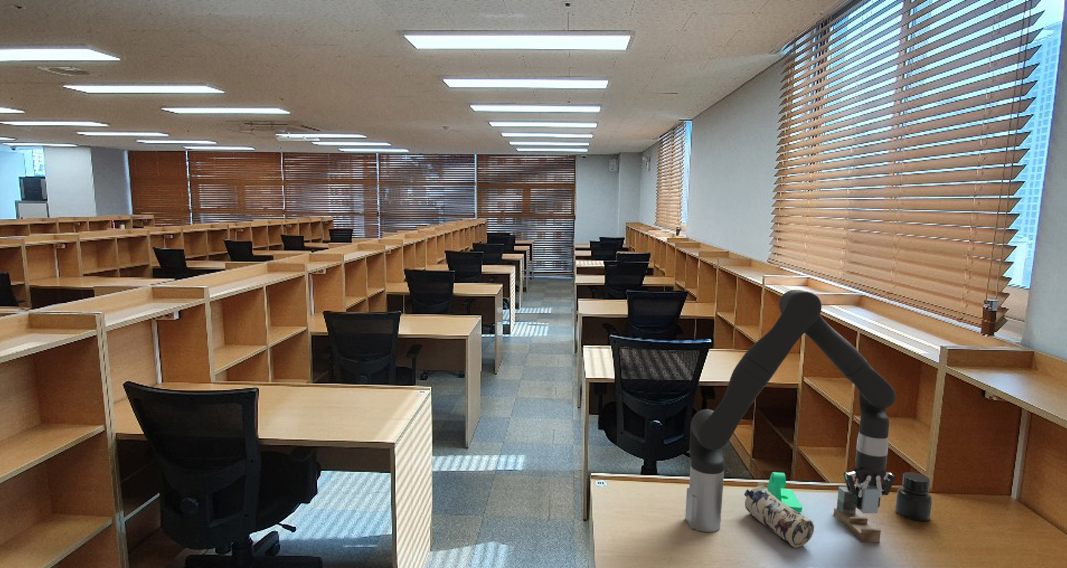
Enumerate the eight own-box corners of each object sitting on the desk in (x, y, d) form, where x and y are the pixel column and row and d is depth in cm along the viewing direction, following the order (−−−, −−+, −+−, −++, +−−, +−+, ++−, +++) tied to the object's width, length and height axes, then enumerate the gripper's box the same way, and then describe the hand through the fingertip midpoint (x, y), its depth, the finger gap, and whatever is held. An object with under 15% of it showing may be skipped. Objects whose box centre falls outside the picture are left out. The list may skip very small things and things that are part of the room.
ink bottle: (938, 520, 179) (942, 482, 177) (916, 524, 176) (920, 486, 174) (908, 504, 188) (912, 468, 186) (887, 508, 185) (891, 471, 184)
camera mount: (802, 516, 180) (805, 483, 178) (775, 513, 181) (778, 481, 179) (791, 497, 191) (793, 466, 190) (766, 495, 192) (768, 464, 191)
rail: (861, 541, 166) (864, 511, 165) (833, 514, 181) (836, 485, 180) (879, 542, 166) (882, 511, 165) (849, 514, 181) (852, 486, 180)
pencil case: (740, 513, 180) (742, 482, 179) (764, 510, 183) (767, 479, 181) (790, 554, 159) (793, 519, 158) (817, 549, 162) (820, 515, 161)
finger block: (863, 513, 167) (865, 489, 166) (854, 506, 171) (857, 482, 170) (877, 513, 167) (879, 489, 166) (868, 506, 171) (871, 482, 170)
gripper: (854, 455, 162) (848, 514, 165) (905, 455, 163) (899, 515, 165) (839, 444, 170) (834, 501, 172) (888, 444, 170) (883, 501, 172)
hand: (866, 507), depth 168 cm, fingers closed on finger block, 4 cm apart
